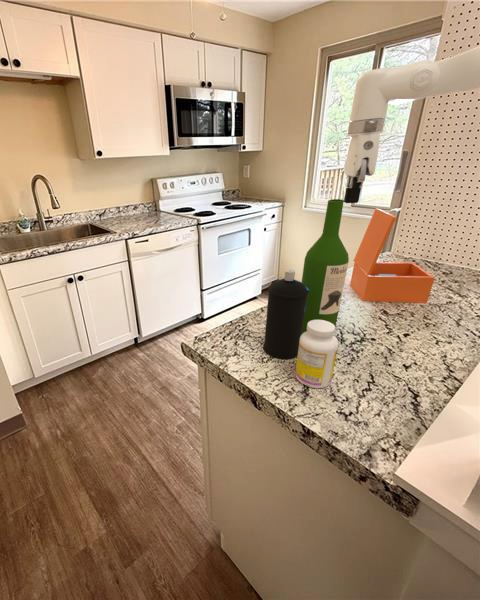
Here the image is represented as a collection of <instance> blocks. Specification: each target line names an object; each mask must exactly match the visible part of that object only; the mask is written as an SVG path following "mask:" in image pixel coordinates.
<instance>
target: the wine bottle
mask: <svg viewBox="0 0 480 600" xmlns="http://www.w3.org/2000/svg"><path fill="white" fill-rule="evenodd" d="M344 203H345V202H344V199H341V198H339V199H338V198H333V199H328V200H327V205H326V211H325V217H324V223H323V228H322V233H321V235H320V237H319V238H318V239H317V240H316V241H315V242H314V243H313V245H312V246H311V247H310V248H309V249H308V250H307V251H306V254H305V257H304V259H303V260H304V261H303V268H302V274H301V275H302V276H301V282H302V283H303V284H304V285H305V286H306V287H307V288H308V289H309V293H308V295H307V300H306V306H305V313H304V320H303V327H302V334H303V333H304V332H306V331H307V324H308V322H309V321H311V320H325V321H328V322H330V323H332V324H334V326H335V328H337V327H336V326H337V321H338V317H339V312H340V307H341V302H342V297H343V291H344V286H345V282H346V277H347V273H348V267H349V261H350V258H349V253H348V251H347V249H346V247H345V245H344V243H343V241H342V240H341V238H340V234H339V233H340V227H341V220H342V214H343V209H344ZM302 334H301V335H302Z"/></svg>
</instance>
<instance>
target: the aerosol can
mask: <svg viewBox="0 0 480 600" xmlns="http://www.w3.org/2000/svg"><path fill="white" fill-rule="evenodd" d="M295 275H296V271H295V270H294V269H285V270H284V278H280V279H277V280H275V281H274V282H272V283H270V284H269V285H268V286H267V291H268V296H267V307H266V308H267V309H266V320H265V332H264V343H263V344H262V349H263V351H264V352H265V353H266V354H267V355H269V356H270V357H273V358H276V359H280V360H291V359H295V358H297V357H298V349H299V341H300V337H301V334H302V327H303V320H304V313H305V306H306V300H307V295H308V293H309V289H308V288H307V287H306V286H305V285H304V284H303V283H302V281H299V280H297V279H295V278H296V277H295Z"/></svg>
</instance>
